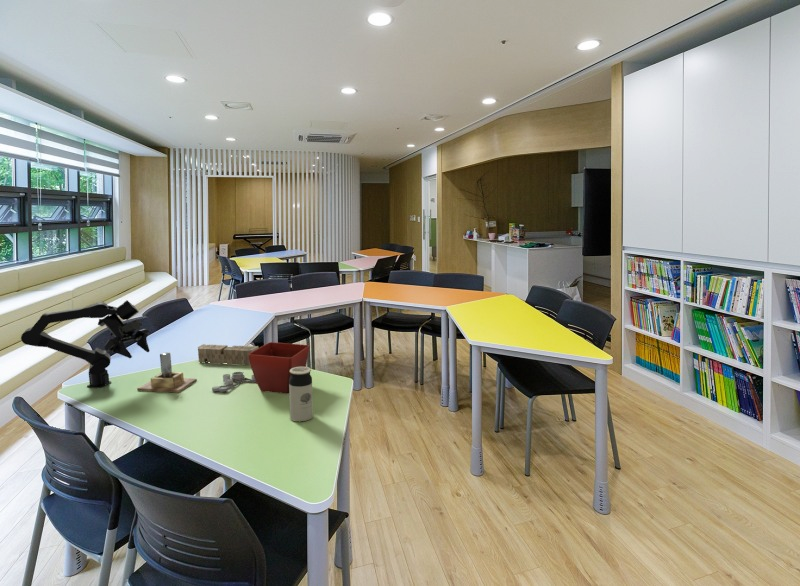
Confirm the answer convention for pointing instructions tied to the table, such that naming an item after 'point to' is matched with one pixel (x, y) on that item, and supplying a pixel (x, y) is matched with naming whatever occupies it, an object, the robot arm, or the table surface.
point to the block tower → (225, 354)
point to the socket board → (168, 383)
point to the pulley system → (235, 378)
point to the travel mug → (300, 394)
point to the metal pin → (166, 365)
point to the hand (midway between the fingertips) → (140, 354)
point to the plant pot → (277, 365)
